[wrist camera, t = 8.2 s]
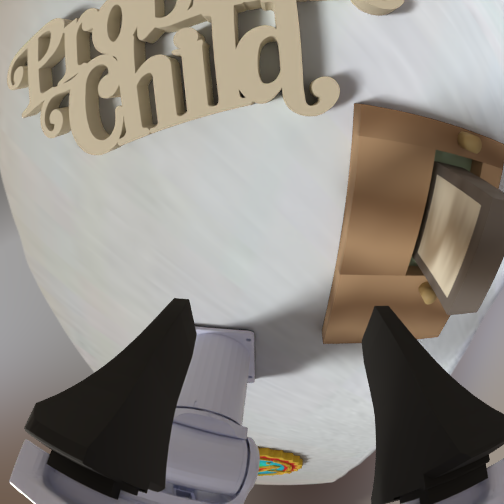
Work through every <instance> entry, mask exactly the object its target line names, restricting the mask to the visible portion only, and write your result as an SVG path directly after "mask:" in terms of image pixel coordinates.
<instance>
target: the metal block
mask: <svg viewBox="0 0 504 504" xmlns="http://www.w3.org/2000/svg"><path fill="white" fill-rule="evenodd" d="M412 257H413V259H414V260H415V262H416V263H417V265H418V266H419V268H420V269H421V271H422V272H423V274H424V276H425V277H426V279H427V281H428V282H429V284H430V286H431V287H432V289H433V291H434V292H435V294H436V296H437V297H438V299H439V301H440V303H441V304H442V306H443V308H444V310H445V312H446V314H447V315H454V314H464V313H474V312H477V311H478V309H479V308H480V306H481V304H482V302H483V300H484V298H485V296H486V294H487V292H488V290H489V288H490V286H491V284H492V282H493V280H494V278H495V276H496V273H497V271H498V269H499V267H500V264H501V262H502V260H503V257H504V193H503V192H502V191H500V190H499V189H497V188H496V187H494V186H493V185H491V184H490V183H488V182H486V181H485V180H483V179H482V178H480V177H478V176H477V175H475V174H473V173H471V172H470V171H468V170H466V169H464V168H462V167H458V166H454V165H450V164H445V163H441V162H436V161H434V164H433V170H432V176H431V181H430V187H429V192H428V196H427V201H426V205H425V210H424V214H423V218H422V222H421V226H420V229H419V233H418V237H417V240H416V244H415V247H414V250H413V254H412Z"/></svg>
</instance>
